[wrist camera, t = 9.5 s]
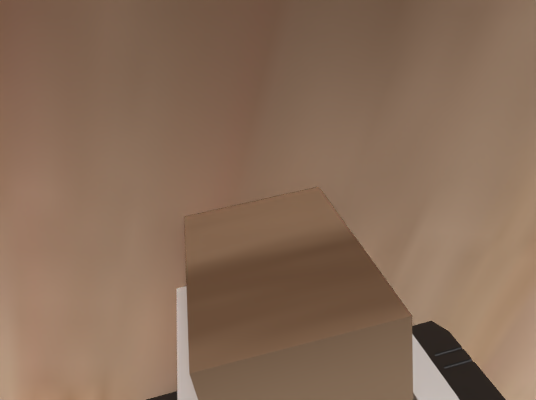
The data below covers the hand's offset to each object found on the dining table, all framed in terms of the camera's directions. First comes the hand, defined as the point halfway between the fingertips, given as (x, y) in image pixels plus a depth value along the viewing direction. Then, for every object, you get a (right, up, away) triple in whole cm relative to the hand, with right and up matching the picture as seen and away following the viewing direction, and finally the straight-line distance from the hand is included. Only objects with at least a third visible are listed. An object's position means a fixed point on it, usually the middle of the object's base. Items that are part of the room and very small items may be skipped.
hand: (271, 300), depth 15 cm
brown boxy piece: (0, -2, +1) cm, 2 cm away
